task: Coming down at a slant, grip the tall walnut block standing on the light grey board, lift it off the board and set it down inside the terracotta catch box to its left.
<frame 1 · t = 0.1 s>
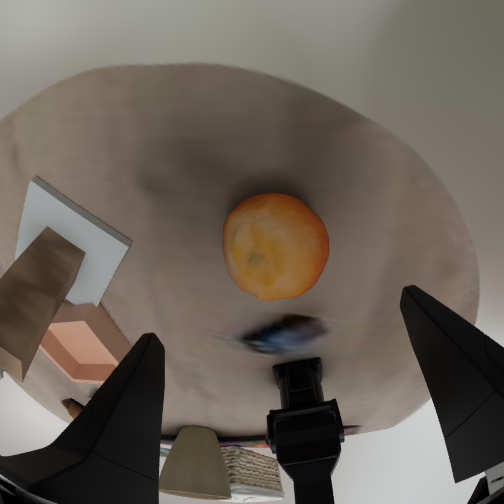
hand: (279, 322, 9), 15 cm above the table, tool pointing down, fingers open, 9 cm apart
fruit: (270, 221, 24), on the table
light grey board: (65, 250, 25), on the table
plant pot: (197, 430, 51), on the table
sunglasses case: (94, 414, 52), on the table
catch box: (85, 336, 32), on the table
walnut block: (60, 256, 24), point 1 cm above the table, touching light grey board
storage basket: (238, 454, 64), on the table
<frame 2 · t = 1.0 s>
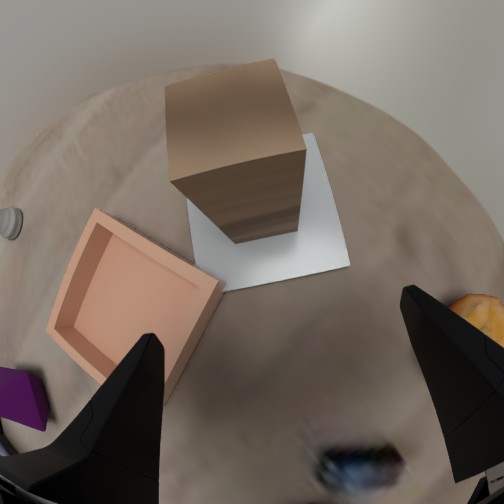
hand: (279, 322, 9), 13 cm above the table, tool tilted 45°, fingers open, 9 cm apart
perfume bottle: (37, 393, 24), on the table
fruit: (451, 338, 20), on the table
light grey board: (261, 211, 24), on the table
catch box: (135, 310, 24), on the table
walnut block: (260, 207, 23), point 1 cm above the table, touching light grey board
rook chess piece: (16, 225, 28), on the table
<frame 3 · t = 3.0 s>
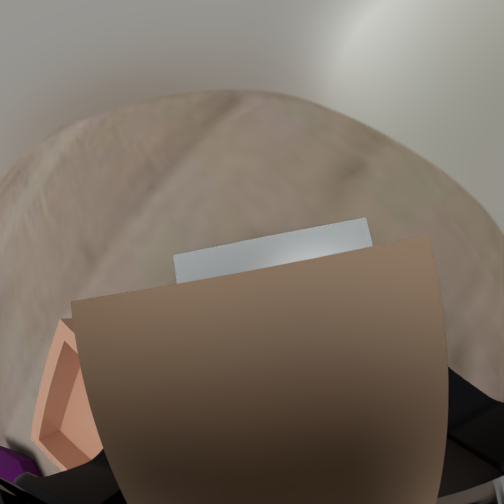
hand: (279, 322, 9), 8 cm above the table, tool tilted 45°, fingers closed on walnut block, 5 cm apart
perfume bottle: (32, 469, 17), on the table
light grey board: (287, 335, 16), on the table
catch box: (128, 431, 17), on the table
walnut block: (287, 338, 15), point 1 cm above the table, touching gripper, light grey board
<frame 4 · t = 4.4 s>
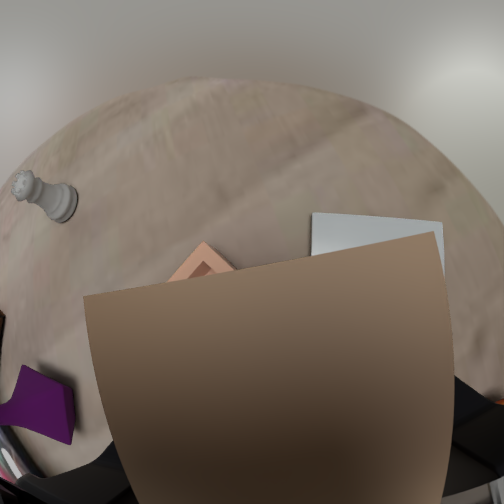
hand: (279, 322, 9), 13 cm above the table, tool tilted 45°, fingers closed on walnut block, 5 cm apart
perfume bottle: (63, 398, 24), on the table
light grey board: (379, 290, 21), on the table
catch box: (220, 358, 22), on the table
walnut block: (288, 336, 16), point 7 cm above the table, touching gripper
rook chess piece: (67, 205, 27), on the table
when the fingers open (9 cm above the table, at t = 6.0 s): walnut block drops 1 cm, resting on catch box.
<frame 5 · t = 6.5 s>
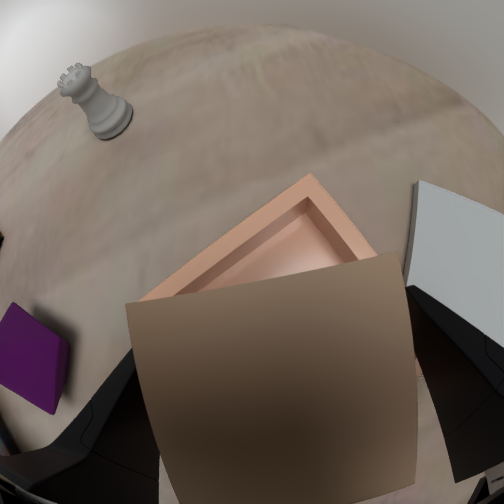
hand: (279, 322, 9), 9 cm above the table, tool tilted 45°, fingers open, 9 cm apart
perfume bottle: (54, 354, 20), on the table
light grey board: (468, 281, 16), on the table
catch box: (287, 332, 18), on the table
walnut block: (287, 334, 17), point 1 cm above the table, touching catch box
rook chess piece: (115, 123, 23), on the table
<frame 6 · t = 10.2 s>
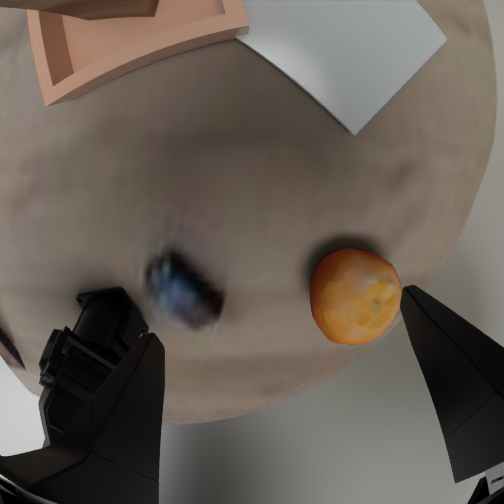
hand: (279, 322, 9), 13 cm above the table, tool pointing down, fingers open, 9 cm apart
fruit: (344, 270, 25), on the table
light grey board: (342, 20, 13), on the table
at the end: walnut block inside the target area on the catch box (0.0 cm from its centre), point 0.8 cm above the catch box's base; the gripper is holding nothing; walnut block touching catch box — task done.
